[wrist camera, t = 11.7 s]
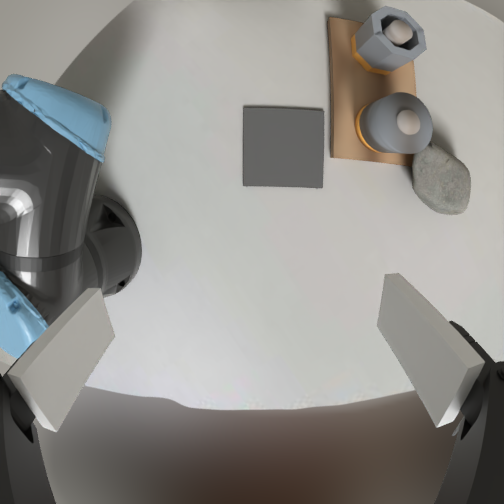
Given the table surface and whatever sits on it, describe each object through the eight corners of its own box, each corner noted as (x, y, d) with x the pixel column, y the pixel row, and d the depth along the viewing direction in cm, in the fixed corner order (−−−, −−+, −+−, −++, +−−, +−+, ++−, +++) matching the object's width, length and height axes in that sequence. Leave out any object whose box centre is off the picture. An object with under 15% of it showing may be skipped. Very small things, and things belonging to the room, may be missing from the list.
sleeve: (353, 68, 29) (375, 49, 21) (349, 27, 27) (369, 1, 19) (398, 78, 29) (428, 63, 21) (394, 37, 27) (420, 17, 19)
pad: (243, 185, 36) (243, 186, 35) (243, 108, 33) (243, 107, 32) (321, 187, 36) (322, 188, 35) (323, 111, 32) (324, 111, 32)
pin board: (330, 157, 34) (355, 158, 25) (327, 21, 28) (345, -14, 18) (411, 166, 34) (452, 172, 24) (405, 38, 28) (439, 15, 18)
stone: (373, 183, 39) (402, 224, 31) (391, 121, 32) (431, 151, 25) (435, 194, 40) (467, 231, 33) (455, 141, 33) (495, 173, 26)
